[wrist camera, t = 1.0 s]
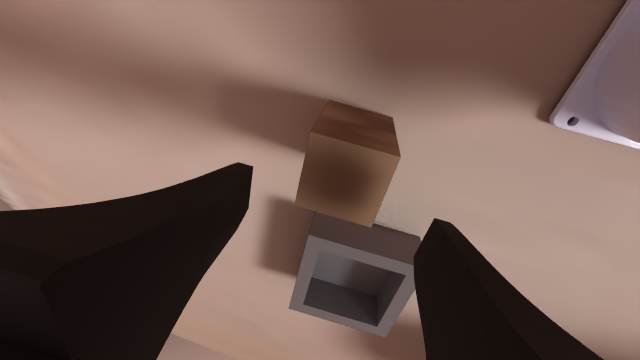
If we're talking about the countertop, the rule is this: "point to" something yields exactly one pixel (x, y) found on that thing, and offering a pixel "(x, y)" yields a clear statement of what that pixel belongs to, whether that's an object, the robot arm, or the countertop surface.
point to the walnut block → (348, 163)
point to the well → (355, 274)
